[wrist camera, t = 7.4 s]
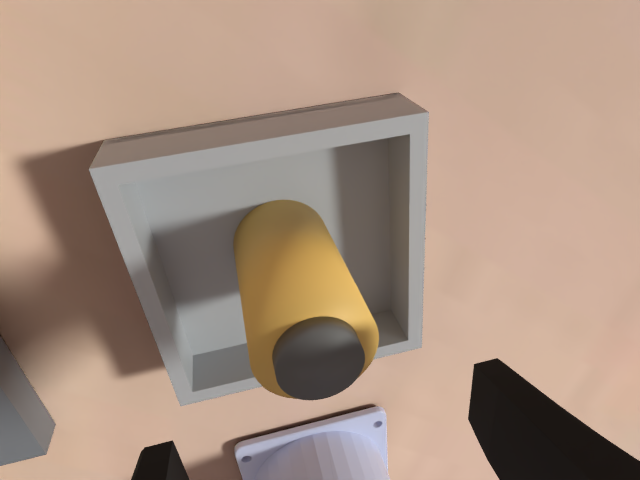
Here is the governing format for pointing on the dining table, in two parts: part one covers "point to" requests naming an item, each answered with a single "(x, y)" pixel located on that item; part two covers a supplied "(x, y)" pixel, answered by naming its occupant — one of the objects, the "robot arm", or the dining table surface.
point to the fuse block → (20, 414)
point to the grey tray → (250, 192)
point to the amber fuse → (300, 304)
